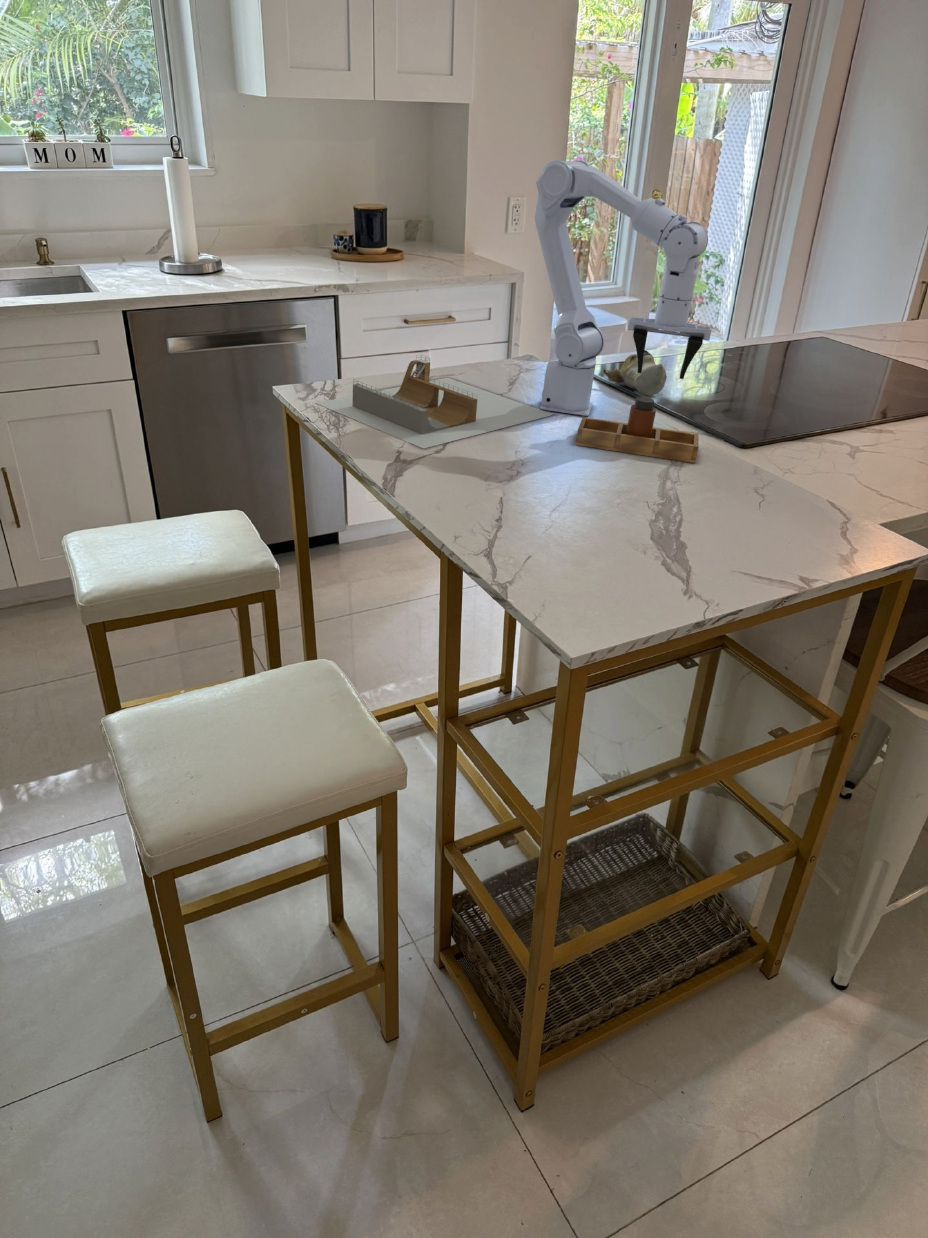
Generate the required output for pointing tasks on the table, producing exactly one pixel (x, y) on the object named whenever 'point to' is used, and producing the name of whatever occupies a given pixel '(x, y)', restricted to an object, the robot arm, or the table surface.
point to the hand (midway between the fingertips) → (660, 374)
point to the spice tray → (638, 440)
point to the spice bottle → (641, 418)
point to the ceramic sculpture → (640, 374)
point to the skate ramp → (432, 408)
